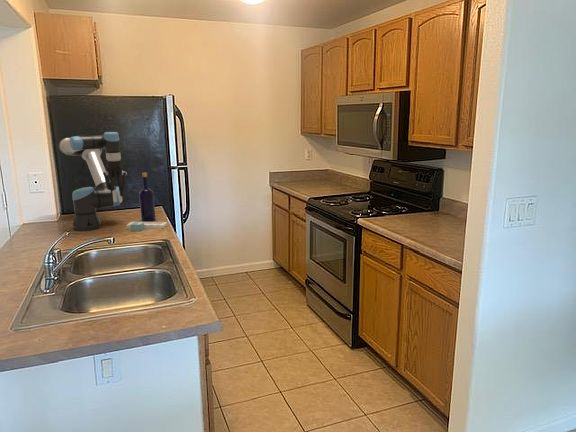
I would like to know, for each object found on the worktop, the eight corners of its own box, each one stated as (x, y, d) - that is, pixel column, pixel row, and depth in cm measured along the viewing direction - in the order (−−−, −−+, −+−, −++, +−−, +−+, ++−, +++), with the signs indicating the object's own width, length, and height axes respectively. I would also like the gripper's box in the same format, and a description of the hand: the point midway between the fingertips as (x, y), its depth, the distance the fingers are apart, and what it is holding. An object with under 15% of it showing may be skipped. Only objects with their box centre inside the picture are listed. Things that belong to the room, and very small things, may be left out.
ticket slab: (126, 228, 251) (126, 224, 251) (132, 224, 259) (131, 221, 258) (163, 228, 250) (163, 225, 249) (167, 225, 258) (167, 221, 257)
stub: (130, 231, 245) (130, 224, 244) (134, 229, 250) (133, 222, 249) (141, 231, 245) (140, 224, 244) (144, 229, 250) (143, 222, 249)
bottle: (153, 222, 265) (149, 173, 258) (138, 222, 265) (134, 174, 258) (158, 218, 274) (154, 171, 267) (143, 218, 274) (139, 171, 267)
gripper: (96, 161, 236) (101, 203, 241) (124, 161, 235) (128, 203, 240) (103, 159, 243) (107, 200, 249) (130, 159, 242) (134, 200, 248)
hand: (118, 201), depth 244 cm, fingers open, 3 cm apart
